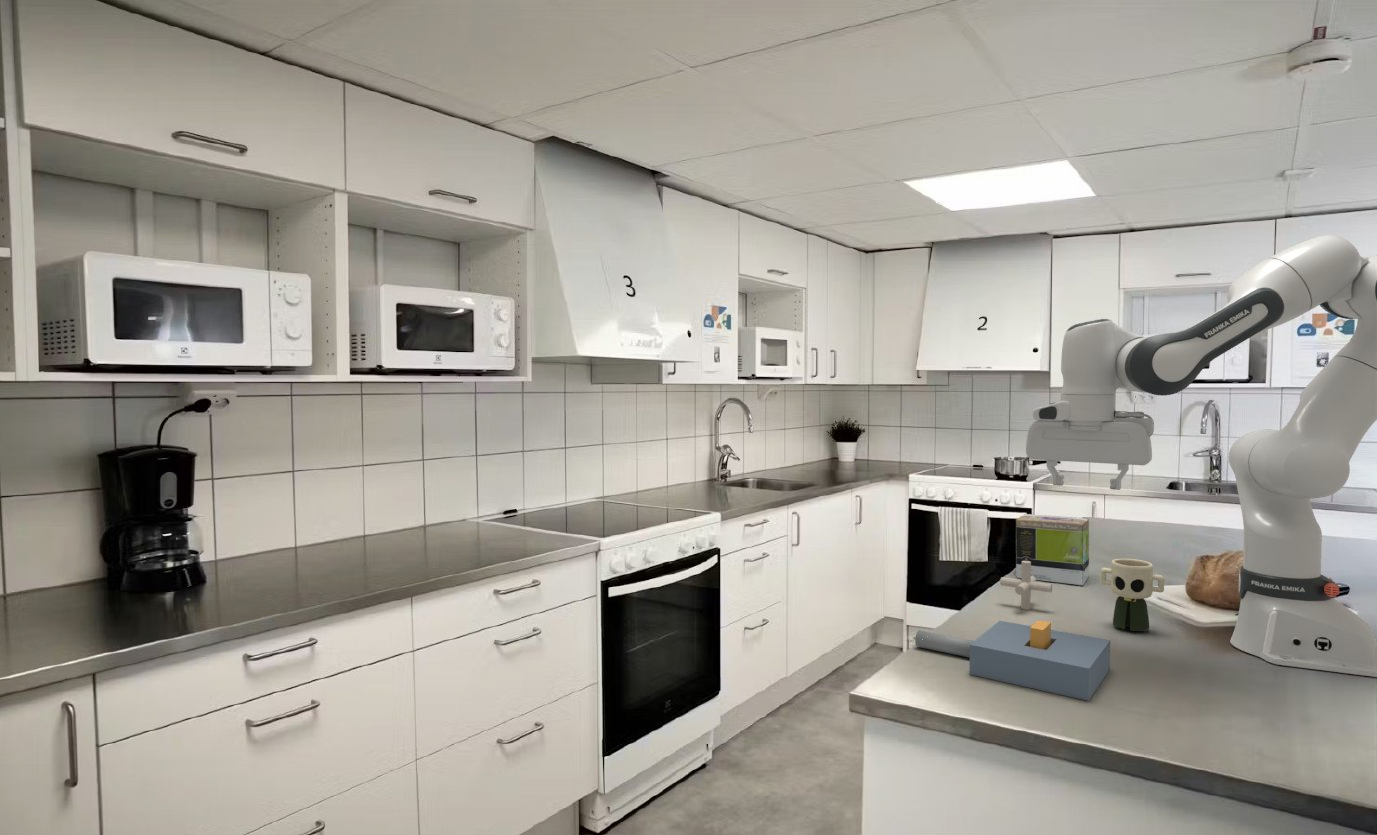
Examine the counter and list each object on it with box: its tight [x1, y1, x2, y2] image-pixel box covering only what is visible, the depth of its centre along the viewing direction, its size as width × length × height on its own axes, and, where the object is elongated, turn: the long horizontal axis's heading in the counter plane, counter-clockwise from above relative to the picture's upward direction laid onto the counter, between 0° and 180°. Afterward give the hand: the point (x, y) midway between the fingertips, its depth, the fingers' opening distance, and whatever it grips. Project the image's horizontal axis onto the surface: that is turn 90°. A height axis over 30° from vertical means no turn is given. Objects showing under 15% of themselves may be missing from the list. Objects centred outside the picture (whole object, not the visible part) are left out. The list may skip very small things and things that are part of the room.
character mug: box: [1100, 558, 1165, 632], centre depth 153 cm, size 11×7×13 cm, turn 50°
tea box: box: [1015, 513, 1090, 586], centre depth 192 cm, size 15×10×15 cm
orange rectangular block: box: [1030, 620, 1052, 650], centre depth 132 cm, size 5×2×8 cm, turn 142°
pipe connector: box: [999, 561, 1053, 611], centre depth 167 cm, size 10×10×10 cm
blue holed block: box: [914, 620, 1111, 701], centre depth 136 cm, size 30×16×5 cm, turn 52°
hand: (1086, 487), depth 143 cm, fingers open, 8 cm apart
